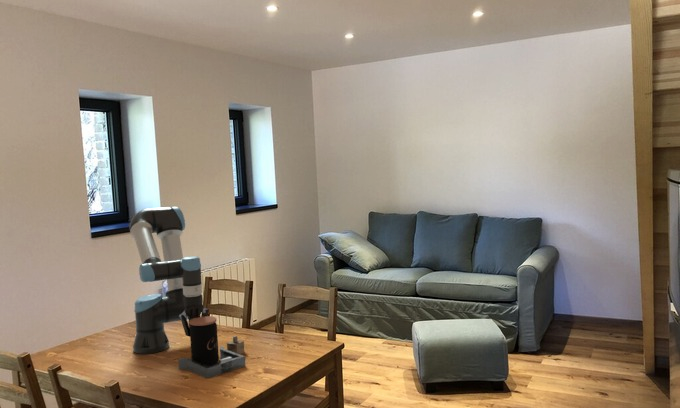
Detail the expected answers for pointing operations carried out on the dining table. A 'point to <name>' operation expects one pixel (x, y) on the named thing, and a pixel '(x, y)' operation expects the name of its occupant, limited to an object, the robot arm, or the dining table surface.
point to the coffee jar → (204, 340)
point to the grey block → (236, 346)
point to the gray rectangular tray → (225, 364)
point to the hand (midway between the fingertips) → (196, 351)
